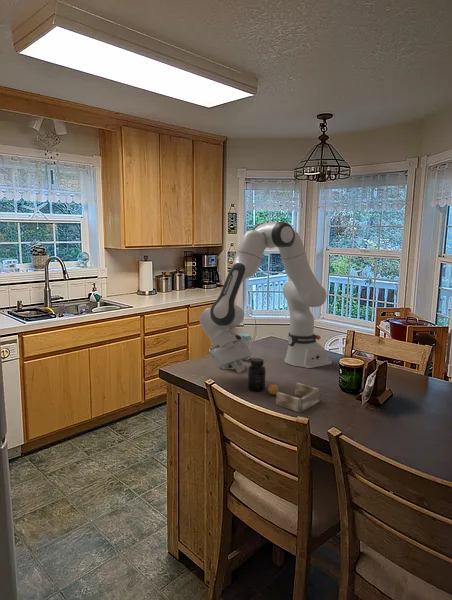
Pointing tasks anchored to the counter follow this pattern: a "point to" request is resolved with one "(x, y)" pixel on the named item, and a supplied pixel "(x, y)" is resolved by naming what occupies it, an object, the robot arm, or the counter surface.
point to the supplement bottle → (256, 375)
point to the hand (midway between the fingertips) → (242, 371)
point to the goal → (299, 404)
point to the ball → (273, 389)
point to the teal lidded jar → (246, 340)
